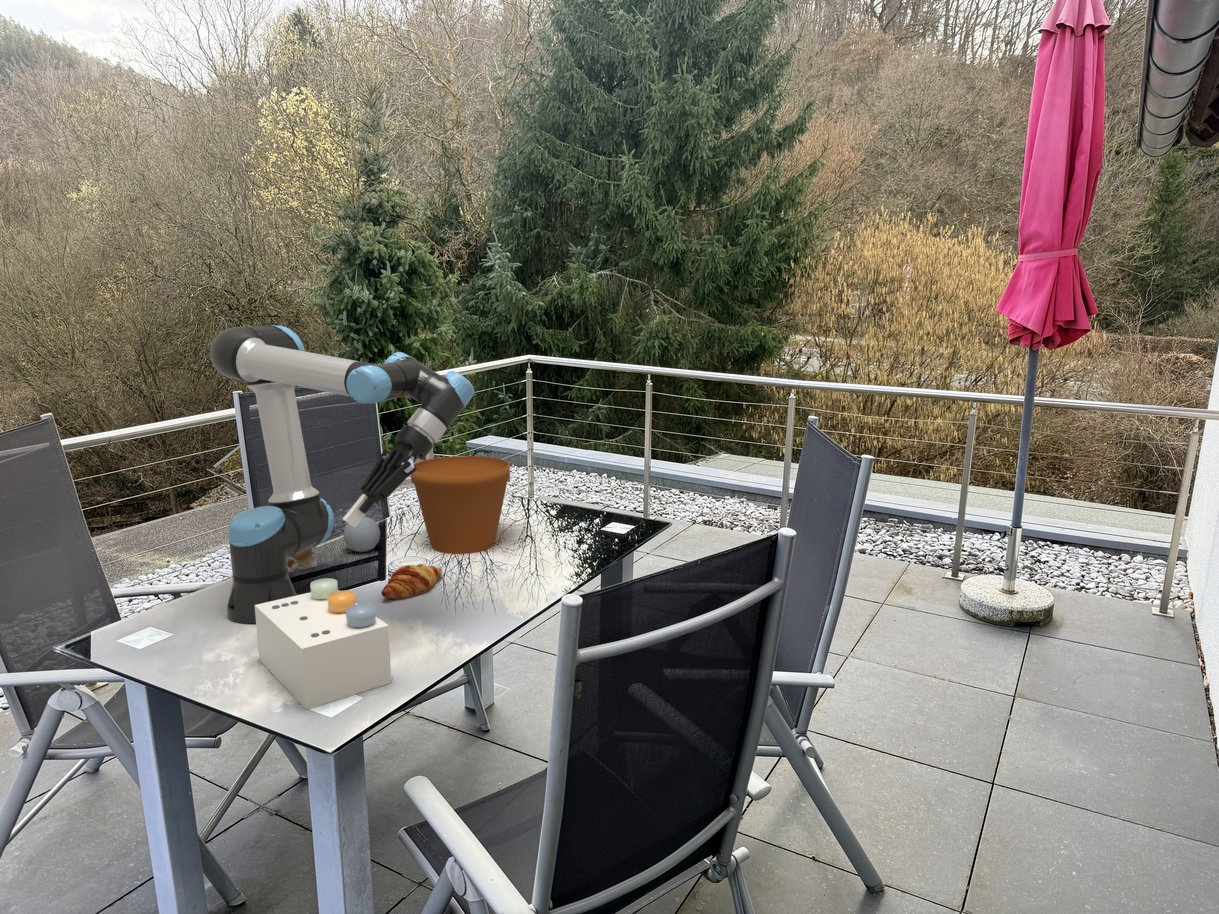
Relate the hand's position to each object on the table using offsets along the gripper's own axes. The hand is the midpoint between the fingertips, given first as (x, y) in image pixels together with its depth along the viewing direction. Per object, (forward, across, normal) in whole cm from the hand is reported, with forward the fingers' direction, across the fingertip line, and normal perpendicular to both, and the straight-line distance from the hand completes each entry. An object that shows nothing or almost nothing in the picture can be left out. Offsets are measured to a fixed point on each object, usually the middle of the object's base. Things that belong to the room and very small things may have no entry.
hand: (348, 523), depth 166 cm
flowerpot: (-18, +46, -55) cm, 74 cm away
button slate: (+16, -18, -8) cm, 25 cm away
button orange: (+16, -9, -8) cm, 20 cm away
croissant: (+2, +20, -35) cm, 41 cm away
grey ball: (0, +58, -37) cm, 68 cm away
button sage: (+16, 0, -8) cm, 18 cm away
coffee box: (+14, +55, -23) cm, 61 cm away
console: (+26, -9, -11) cm, 29 cm away
